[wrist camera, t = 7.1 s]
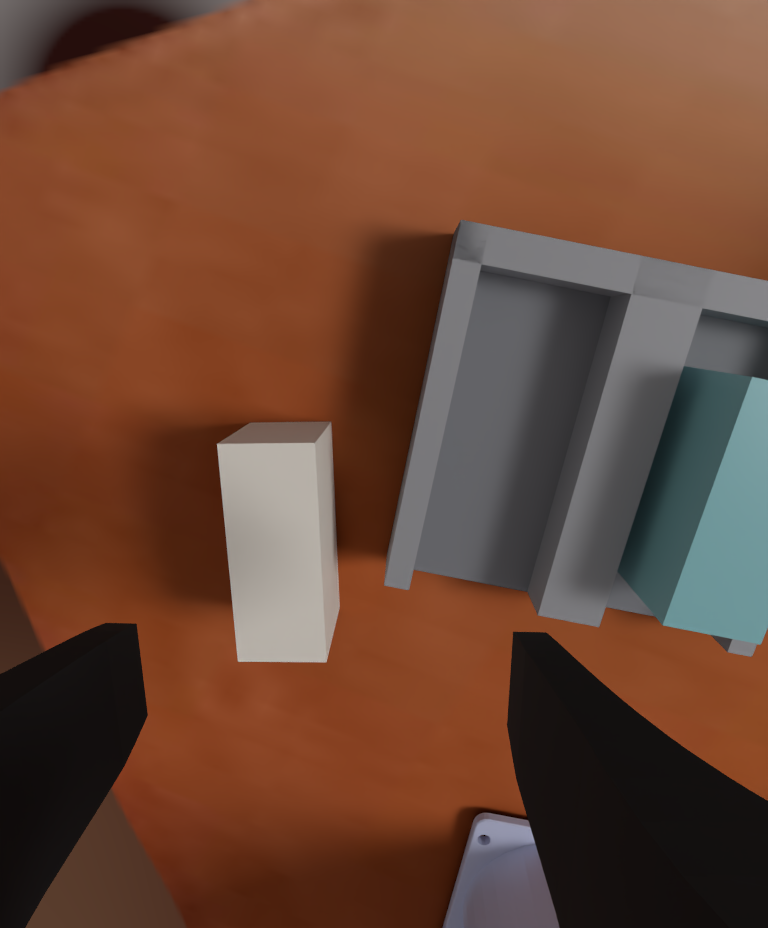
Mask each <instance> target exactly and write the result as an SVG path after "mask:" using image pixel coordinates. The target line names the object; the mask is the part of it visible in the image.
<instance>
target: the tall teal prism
mask: <svg viewBox="0 0 768 928" xmlns="http://www.w3.org/2000/svg"><path fill="white" fill-rule="evenodd" d="M617 572H618V573H619V574H620V575H621V576H622V578H623V579H624V580H625V581H626V582H627V583H628V585H629V586H630V587H631V588H632V589H633V591H634V592H635V593H636V594H637V595H638V597H639V598H640V599H641V600H642V601H643V602H644V604H645V605H646V606H647V607H648V608H649V610H650V611H651V612H652V613H653V614H654V615H655V617H656V618H657V619H658V620H659V621H660V623H661V624H662V625H664V626H669V627H674V628H679V629H684V630H689V631H695V632H700V633H705V634H710V635H715V636H720V637H725V638H730V639H735V640H740V641H745V642H750V643H755V644H760V645H761V643H762V640H763V638H764V635H765V633H766V630H767V628H768V380H765V379H760V378H755V377H750V376H743V375H737V374H731V373H724V372H718V371H712V370H705V369H699V368H693V367H686V366H684V367H683V370H682V373H681V376H680V379H679V382H678V385H677V388H676V392H675V395H674V398H673V401H672V404H671V407H670V410H669V413H668V416H667V419H666V422H665V425H664V429H663V432H662V435H661V438H660V441H659V444H658V447H657V450H656V453H655V456H654V459H653V462H652V466H651V469H650V472H649V475H648V478H647V481H646V484H645V487H644V490H643V493H642V496H641V499H640V503H639V506H638V509H637V512H636V515H635V518H634V521H633V524H632V527H631V530H630V533H629V536H628V540H627V543H626V546H625V549H624V552H623V555H622V558H621V561H620V564H619V567H618V570H617Z"/></svg>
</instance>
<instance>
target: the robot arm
mask: <svg viewBox="0 0 768 928" xmlns="http://www.w3.org/2000/svg"><path fill="white" fill-rule="evenodd" d="M147 716H148V714H147V706H146V698H145V690H144V682H143V673H142V665H141V657H140V649H139V641H138V633H137V624H125V623H105V624H102V625H99V626H97V627H94V628H92V629H90V630H87V631H85V632H83V633H81V634H79V635H77V636H75V637H73V638H71V639H69V640H67V641H65V642H63V643H61V644H59V645H57V646H55V647H53V648H51V649H49V650H47V651H45V652H43V653H41V654H39V655H37V656H36V657H33V658H31V659H29V660H28V661H25V662H23V663H21V664H19V665H17V666H16V667H14V668H12V669H10V670H8V671H6V672H4V673H2V674H0V928H25V927H26V925H27V923H28V921H29V920H30V918H31V916H32V915H33V913H34V911H35V909H36V908H37V906H38V904H39V903H40V901H41V899H42V898H43V896H44V894H45V892H46V891H47V889H48V888H49V886H50V884H51V883H52V881H53V880H54V878H55V876H56V875H57V873H58V872H59V870H60V868H61V867H62V865H63V864H64V862H65V861H66V859H67V857H68V856H69V854H70V853H71V851H72V849H73V848H74V846H75V844H76V843H77V842H78V840H79V838H80V837H81V835H82V834H83V832H84V830H85V829H86V827H87V826H88V824H89V822H90V821H91V819H92V818H93V816H94V815H95V813H96V811H97V809H98V808H99V807H100V805H101V803H102V802H103V800H104V799H105V797H106V795H107V794H108V792H109V790H110V789H111V787H112V786H113V784H114V782H115V781H116V779H117V777H118V776H119V774H120V772H121V771H122V769H123V767H124V766H125V763H126V761H127V759H128V757H129V755H130V753H131V751H132V749H133V747H134V745H135V743H136V740H137V738H138V736H139V734H140V731H141V729H142V727H143V725H144V722H145V720H146V718H147ZM507 727H508V733H509V739H510V745H511V751H512V757H513V763H514V768H515V774H516V779H517V783H518V786H519V790H520V793H521V797H522V800H523V804H524V807H525V810H526V814H527V817H528V820H524V819H518V818H513V817H508V816H503V815H497V814H492V813H481V814H478V815H477V816H476V817H475V819H474V820H473V824H472V827H471V831H470V834H469V838H468V841H467V845H466V848H465V852H464V855H463V858H462V862H461V865H460V869H459V872H458V876H457V879H456V883H455V886H454V890H453V893H452V897H451V900H450V903H449V907H448V910H447V914H446V917H445V921H444V924H443V928H768V801H767V800H765V799H764V798H762V797H760V796H758V795H757V794H755V793H753V792H752V791H750V790H748V789H747V788H745V787H744V786H742V785H740V784H739V783H737V782H735V781H734V780H732V779H731V778H729V777H727V776H726V775H724V774H723V773H721V772H720V771H718V770H717V769H715V768H714V767H712V766H711V765H709V764H708V763H706V762H705V761H703V760H702V759H700V758H699V757H697V756H696V755H694V754H693V753H691V752H690V751H688V750H687V749H685V748H684V747H683V746H681V745H680V744H678V743H677V742H676V741H674V740H673V739H671V738H670V737H669V736H667V735H666V734H665V733H663V732H662V731H661V730H660V729H658V728H657V727H656V726H654V725H653V724H652V723H651V722H649V721H648V720H647V719H645V718H644V717H643V716H641V715H640V714H639V713H638V712H636V711H635V710H634V709H633V708H631V707H630V706H629V705H628V704H627V703H625V702H624V701H623V700H622V699H620V698H619V697H618V696H617V695H616V694H615V693H613V692H612V691H611V690H610V689H609V688H608V687H606V686H605V685H604V684H603V683H602V682H601V681H599V680H598V679H597V678H596V677H595V676H594V675H593V674H592V673H591V672H589V671H588V670H587V669H586V668H585V667H584V666H583V665H582V664H581V663H579V662H578V661H577V660H576V659H575V658H574V657H573V656H572V655H571V654H570V653H569V652H567V651H566V650H565V649H564V648H563V647H562V646H561V645H560V644H559V643H558V642H557V641H555V640H554V639H553V638H552V637H551V636H550V635H549V634H547V633H543V632H513V645H512V660H511V675H510V691H509V706H508V722H507ZM481 835H486V836H481Z"/></svg>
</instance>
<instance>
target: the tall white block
mask: <svg viewBox="0 0 768 928" xmlns="http://www.w3.org/2000/svg"><path fill="white" fill-rule="evenodd" d="M217 449H218V460H219V470H220V480H221V491H222V501H223V512H224V522H225V532H226V543H227V553H228V563H229V574H230V584H231V595H232V605H233V615H234V626H235V636H236V646H237V657H238V662H327V658H328V654H329V650H330V645H331V641H332V637H333V633H334V629H335V625H336V620H337V616H338V612H339V608H340V604H339V582H338V559H337V536H336V514H335V491H334V468H333V446H332V423H331V422H260V423H249V424H247V425H246V426H244V427H243V428H241V429H240V430H238V431H236V432H235V433H233V434H232V435H230V436H229V437H227V438H225V439H224V440H222V441H221V442H219V443H218V444H217Z"/></svg>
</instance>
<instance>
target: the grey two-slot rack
mask: <svg viewBox="0 0 768 928" xmlns="http://www.w3.org/2000/svg"><path fill="white" fill-rule="evenodd" d="M684 366H686V367H693V368H699V369H705V370H712V371H718V372H724V373H731V374H737V375H743V376H750V377H755V378H760V379H765V380H768V281H765V280H760V279H755V278H750V277H745V276H740V275H735V274H730V273H725V272H720V271H715V270H710V269H705V268H700V267H695V266H690V265H685V264H680V263H675V262H670V261H665V260H660V259H655V258H650V257H645V256H640V255H635V254H630V253H625V252H620V251H615V250H610V249H605V248H600V247H595V246H590V245H585V244H580V243H575V242H570V241H565V240H560V239H555V238H550V237H545V236H540V235H535V234H530V233H525V232H520V231H515V230H510V229H505V228H500V227H495V226H490V225H485V224H480V223H475V222H470V221H465V220H461V221H460V223H459V225H458V227H457V228H456V230H455V232H454V235H453V240H452V245H451V250H450V254H449V259H448V264H447V269H446V274H445V278H444V283H443V288H442V293H441V298H440V302H439V307H438V312H437V317H436V322H435V326H434V331H433V336H432V341H431V346H430V350H429V355H428V360H427V365H426V370H425V374H424V379H423V384H422V389H421V394H420V398H419V403H418V408H417V413H416V418H415V422H414V427H413V432H412V437H411V442H410V446H409V451H408V456H407V461H406V466H405V470H404V475H403V480H402V485H401V490H400V494H399V499H398V504H397V509H396V514H395V518H394V523H393V528H392V533H391V538H390V542H389V547H388V552H387V559H386V571H385V582H384V585H385V586H390V587H395V588H400V589H405V590H409V587H410V583H411V578H412V574H413V570H418V571H423V572H428V573H433V574H439V575H444V576H449V577H454V578H459V579H464V580H469V581H475V582H480V583H485V584H490V585H495V586H500V587H505V588H511V589H516V590H521V591H526V592H528V594H529V597H530V599H531V601H532V603H533V606H534V608H535V610H536V612H537V614H538V615H539V616H544V617H549V618H555V619H560V620H565V621H570V622H575V623H580V624H586V625H591V626H596V627H599V626H600V623H601V620H602V617H603V614H604V610H605V607H608V608H613V609H619V610H624V611H629V612H634V613H639V614H644V615H649V616H655V615H654V614H653V613H652V612H651V611H650V610H649V608H648V607H647V606H646V605H645V604H644V602H643V601H642V600H641V599H640V598H639V597H638V595H637V594H636V593H635V592H634V591H633V589H632V588H631V587H630V586H629V585H628V583H627V582H626V581H625V580H624V579H623V578H622V576H621V575H620V574H619V573H618V572H617V570H618V567H619V564H620V561H621V558H622V555H623V552H624V549H625V546H626V543H627V540H628V536H629V533H630V530H631V527H632V524H633V521H634V518H635V515H636V512H637V509H638V506H639V503H640V499H641V496H642V493H643V490H644V487H645V484H646V481H647V478H648V475H649V472H650V469H651V466H652V462H653V459H654V456H655V453H656V450H657V447H658V444H659V441H660V438H661V435H662V432H663V429H664V425H665V422H666V419H667V416H668V413H669V410H670V407H671V404H672V401H673V398H674V395H675V392H676V388H677V385H678V382H679V379H680V376H681V373H682V370H683V367H684ZM711 636H712V637H713V638H714V639H715V640H716V641H717V642H718V643H719V644H720V645H721V646H722V647H723V648H724V649H725V650H726V651H727V652H730V653H735V654H740V655H745V656H750V657H752V655H753V653H754V650H755V648H756V645H757V644H755V643H750V642H745V641H740V640H735V639H730V638H725V637H720V636H715V635H711Z"/></svg>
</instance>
